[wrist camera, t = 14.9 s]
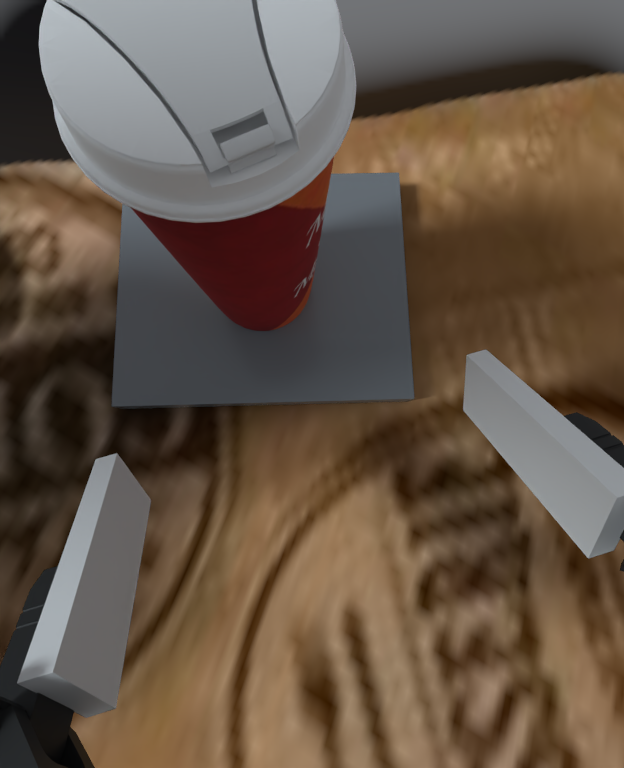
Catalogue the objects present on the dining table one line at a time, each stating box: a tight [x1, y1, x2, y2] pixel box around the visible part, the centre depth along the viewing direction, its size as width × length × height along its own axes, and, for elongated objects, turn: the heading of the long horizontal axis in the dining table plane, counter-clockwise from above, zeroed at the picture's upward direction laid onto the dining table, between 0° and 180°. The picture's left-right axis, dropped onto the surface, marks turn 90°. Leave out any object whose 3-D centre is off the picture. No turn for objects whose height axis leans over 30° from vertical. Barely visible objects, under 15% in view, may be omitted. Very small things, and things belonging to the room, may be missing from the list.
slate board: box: [112, 173, 414, 409], centre depth 25 cm, size 18×15×2 cm
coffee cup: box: [39, 0, 356, 331], centre depth 16 cm, size 8×8×15 cm
